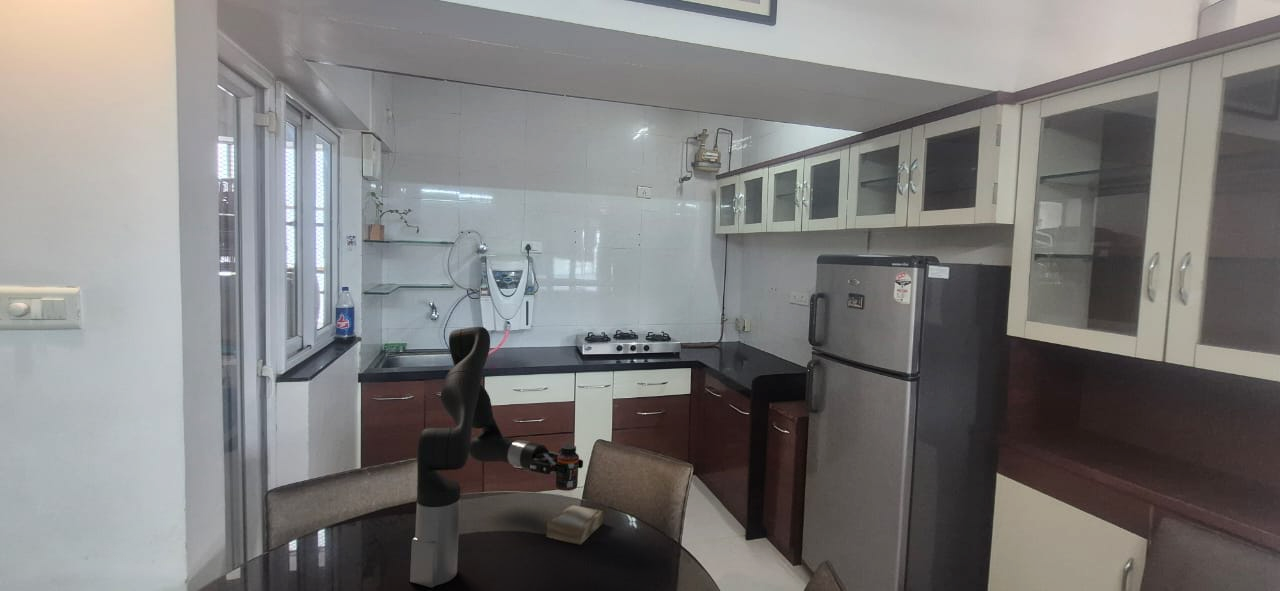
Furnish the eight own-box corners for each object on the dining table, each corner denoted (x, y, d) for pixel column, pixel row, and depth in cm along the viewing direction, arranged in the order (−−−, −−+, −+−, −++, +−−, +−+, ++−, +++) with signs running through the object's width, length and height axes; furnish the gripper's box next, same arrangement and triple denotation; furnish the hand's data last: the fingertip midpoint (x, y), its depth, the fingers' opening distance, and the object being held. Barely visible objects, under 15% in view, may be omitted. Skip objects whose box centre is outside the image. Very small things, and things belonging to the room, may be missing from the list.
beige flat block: (580, 544, 137) (581, 529, 137) (546, 537, 141) (547, 522, 141) (602, 523, 150) (602, 509, 150) (570, 517, 154) (571, 503, 154)
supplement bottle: (576, 492, 142) (578, 450, 142) (553, 491, 142) (556, 449, 142) (578, 484, 148) (580, 443, 148) (557, 482, 148) (559, 442, 148)
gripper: (510, 448, 146) (559, 460, 138) (544, 436, 159) (591, 447, 150) (509, 475, 146) (558, 489, 138) (543, 461, 159) (589, 473, 151)
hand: (575, 467), depth 144 cm, fingers closed on supplement bottle, 6 cm apart
